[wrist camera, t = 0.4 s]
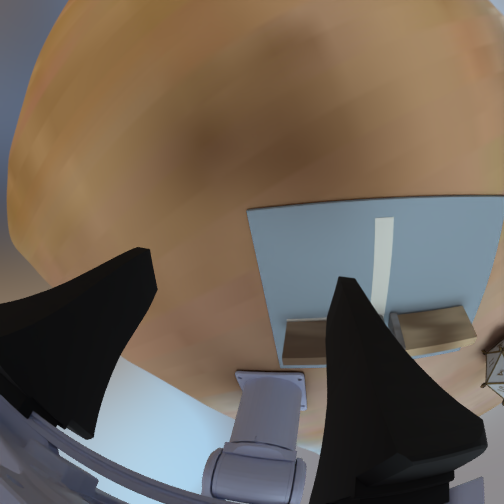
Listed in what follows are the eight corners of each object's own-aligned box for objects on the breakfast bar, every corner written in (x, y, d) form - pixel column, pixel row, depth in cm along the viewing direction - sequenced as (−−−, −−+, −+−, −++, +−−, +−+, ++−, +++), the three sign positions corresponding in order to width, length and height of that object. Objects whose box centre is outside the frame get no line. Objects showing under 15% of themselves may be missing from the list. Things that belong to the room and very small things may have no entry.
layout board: (458, 348, 22) (459, 350, 22) (280, 365, 28) (280, 368, 27) (504, 195, 14) (507, 197, 13) (247, 209, 19) (246, 211, 19)
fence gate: (387, 325, 21) (395, 360, 18) (390, 313, 21) (398, 348, 17) (459, 315, 19) (472, 346, 16) (463, 303, 19) (478, 334, 15)
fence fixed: (382, 323, 22) (390, 368, 18) (288, 329, 24) (282, 374, 20) (384, 312, 21) (394, 358, 17) (286, 319, 23) (280, 364, 19)
